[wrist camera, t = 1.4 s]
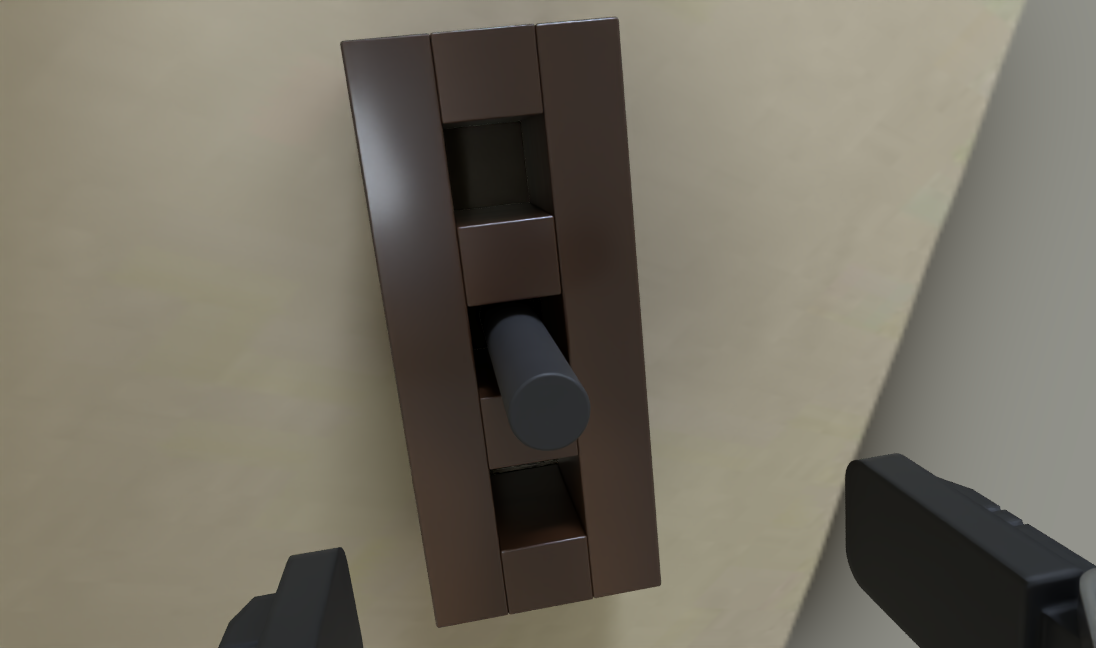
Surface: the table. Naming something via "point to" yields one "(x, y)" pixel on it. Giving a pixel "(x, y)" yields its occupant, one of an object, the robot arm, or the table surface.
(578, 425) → the stylus
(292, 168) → the table surface
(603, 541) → the pen stand
